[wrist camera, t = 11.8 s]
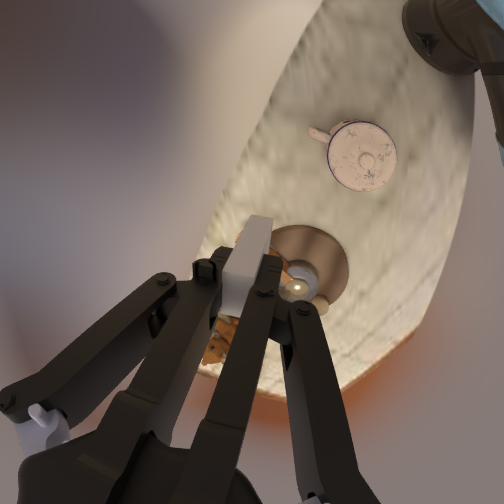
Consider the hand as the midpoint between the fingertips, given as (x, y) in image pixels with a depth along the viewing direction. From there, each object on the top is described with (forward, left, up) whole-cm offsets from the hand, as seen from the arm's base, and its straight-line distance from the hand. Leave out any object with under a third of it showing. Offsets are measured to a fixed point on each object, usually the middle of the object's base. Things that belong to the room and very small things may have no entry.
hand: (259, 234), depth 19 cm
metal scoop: (-1, +17, -24) cm, 30 cm away
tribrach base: (-5, +20, -26) cm, 33 cm away
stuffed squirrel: (+7, +37, -27) cm, 46 cm away
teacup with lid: (-8, -4, -27) cm, 28 cm away
